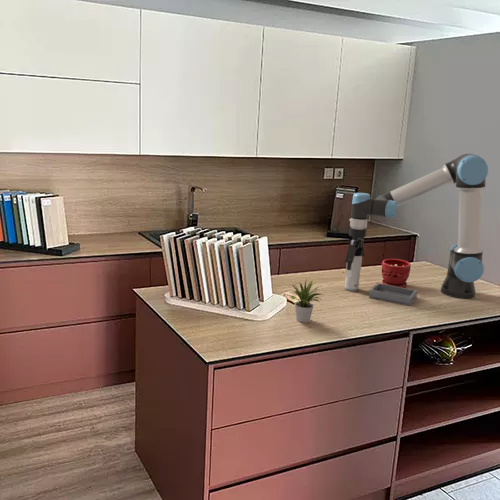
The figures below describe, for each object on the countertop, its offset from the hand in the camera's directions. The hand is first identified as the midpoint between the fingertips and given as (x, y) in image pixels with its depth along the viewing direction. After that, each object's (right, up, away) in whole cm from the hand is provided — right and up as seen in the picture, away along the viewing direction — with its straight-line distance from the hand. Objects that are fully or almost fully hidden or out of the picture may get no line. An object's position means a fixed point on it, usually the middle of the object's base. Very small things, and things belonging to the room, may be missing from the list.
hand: (353, 273), depth 257 cm
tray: (+16, -11, -6) cm, 21 cm away
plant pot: (+21, -7, +11) cm, 25 cm away
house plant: (-28, -17, -40) cm, 52 cm away
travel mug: (0, -8, +2) cm, 8 cm away
